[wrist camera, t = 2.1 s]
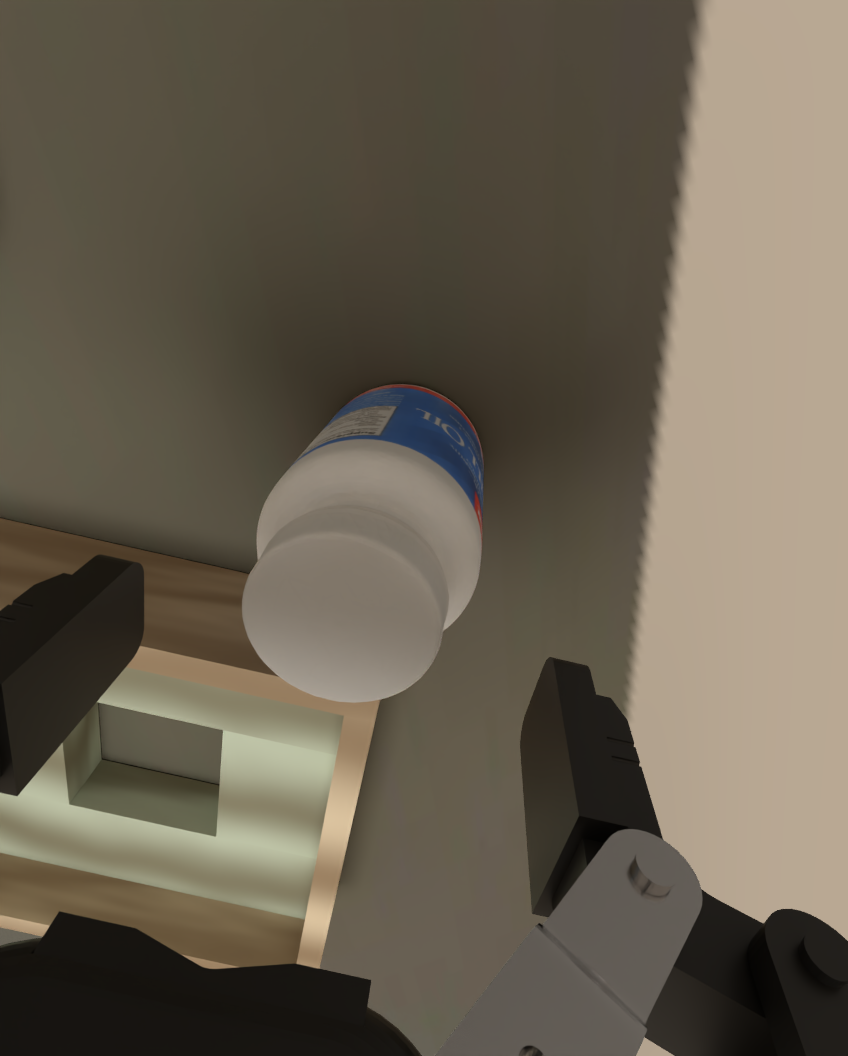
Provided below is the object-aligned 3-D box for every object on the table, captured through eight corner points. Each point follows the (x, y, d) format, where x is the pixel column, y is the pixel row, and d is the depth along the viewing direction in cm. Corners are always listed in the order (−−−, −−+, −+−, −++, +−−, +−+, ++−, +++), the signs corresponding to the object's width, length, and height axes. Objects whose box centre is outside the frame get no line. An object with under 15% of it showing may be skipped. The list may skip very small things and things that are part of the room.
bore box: (-60, 504, 23) (-192, 571, 18) (400, 607, 23) (380, 699, 19) (-1, 811, 31) (-82, 909, 27) (337, 886, 31) (313, 995, 27)
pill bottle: (508, 497, 21) (525, 695, 12) (372, 550, 22) (297, 761, 13) (442, 348, 19) (403, 456, 10) (296, 417, 20) (149, 564, 11)
